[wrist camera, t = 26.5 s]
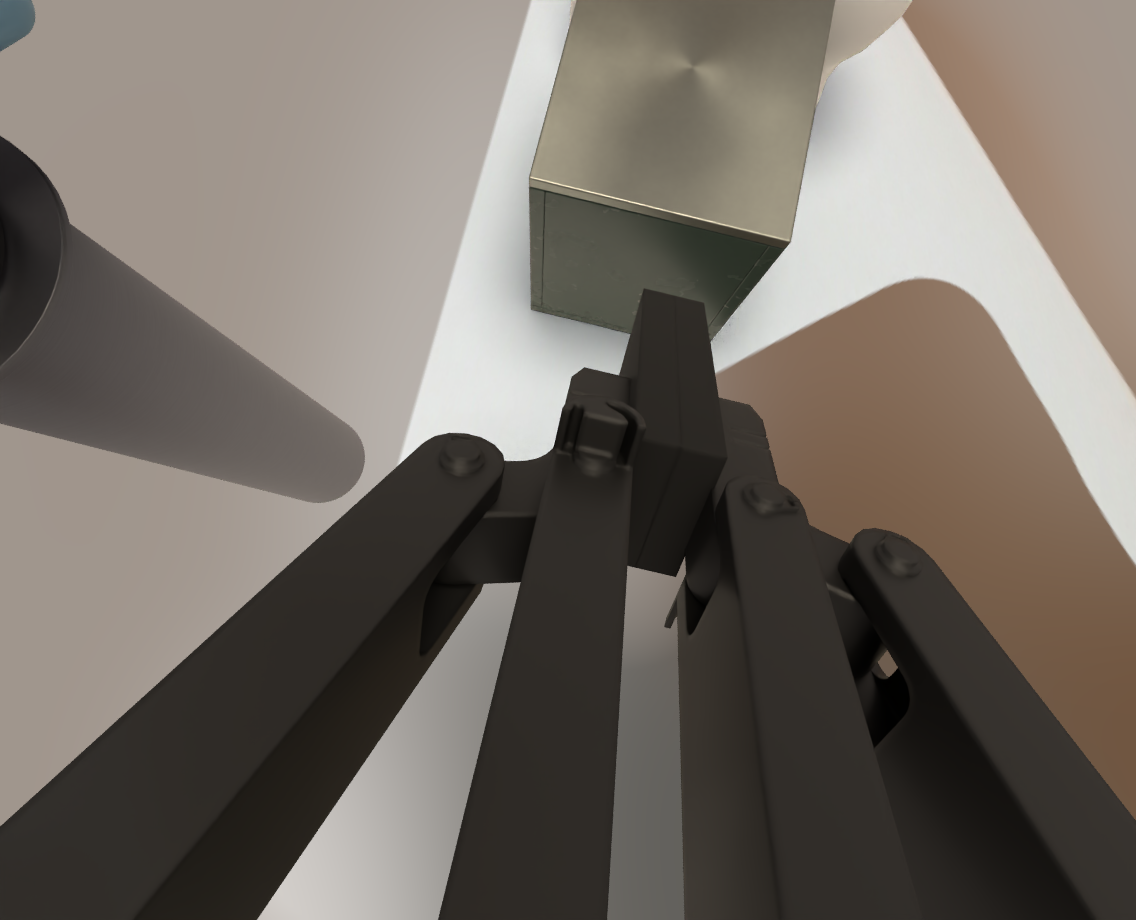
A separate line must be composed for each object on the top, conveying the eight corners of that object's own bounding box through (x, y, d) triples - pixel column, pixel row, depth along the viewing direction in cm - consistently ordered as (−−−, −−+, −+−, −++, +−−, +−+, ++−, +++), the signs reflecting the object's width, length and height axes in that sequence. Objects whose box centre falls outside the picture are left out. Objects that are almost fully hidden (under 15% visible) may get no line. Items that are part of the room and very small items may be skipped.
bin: (576, 129, 47) (596, -65, 32) (740, 170, 47) (832, -6, 32) (530, 309, 44) (528, 187, 30) (703, 351, 45) (784, 250, 30)
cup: (809, 177, 47) (935, 2, 32) (678, 124, 47) (743, -74, 33) (851, 63, 49) (988, -153, 34) (724, 12, 49) (807, -224, 34)
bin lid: (600, -82, 32) (601, -95, 32) (835, -22, 33) (842, -35, 32) (528, 186, 30) (528, 178, 29) (785, 249, 30) (791, 242, 29)
